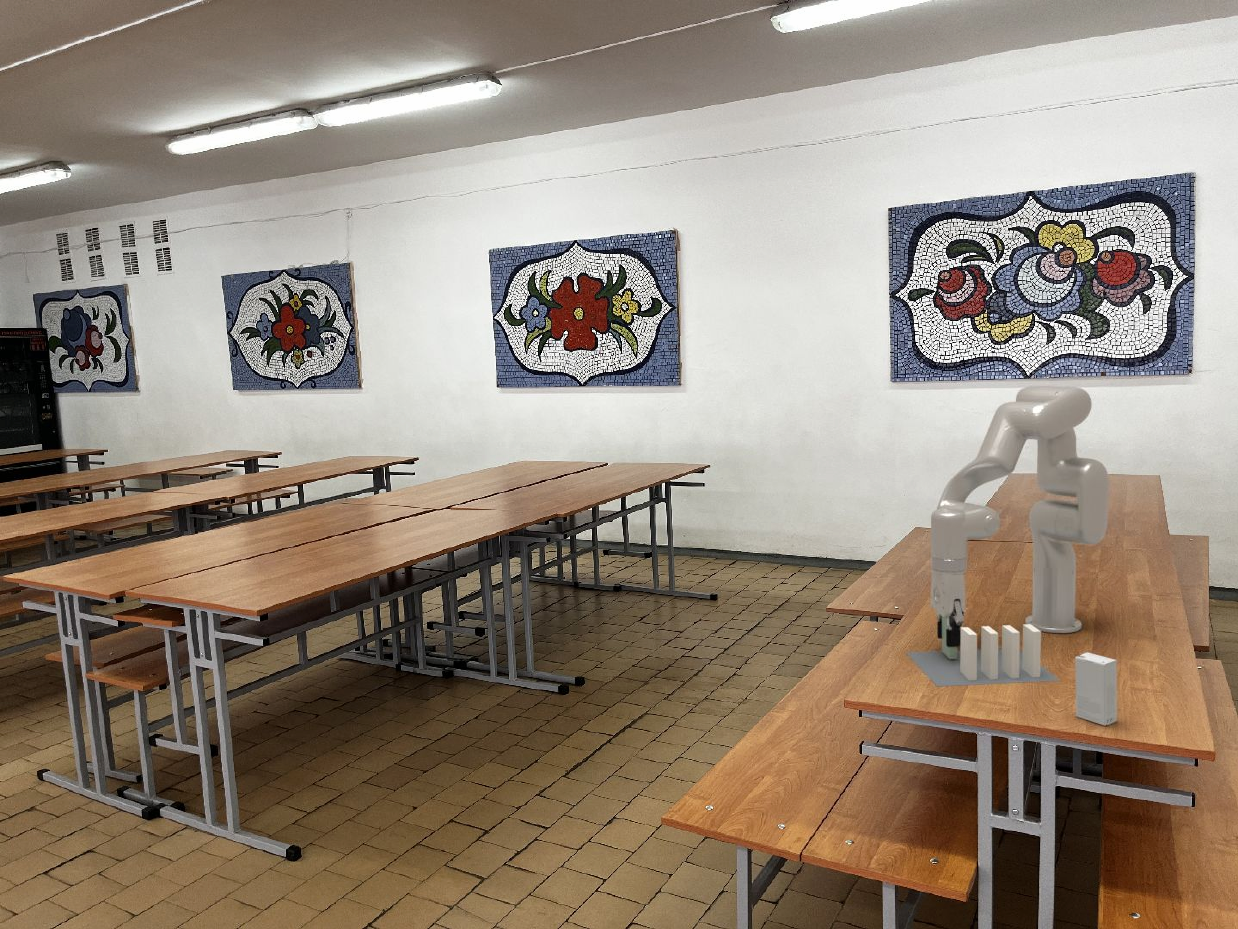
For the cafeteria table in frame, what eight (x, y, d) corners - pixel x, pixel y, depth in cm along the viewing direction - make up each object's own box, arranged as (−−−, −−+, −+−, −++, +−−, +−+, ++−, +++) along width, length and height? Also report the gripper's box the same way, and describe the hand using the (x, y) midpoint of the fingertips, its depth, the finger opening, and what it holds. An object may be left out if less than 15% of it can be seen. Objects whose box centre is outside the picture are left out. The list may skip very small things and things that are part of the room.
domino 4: (1029, 668, 203) (1030, 624, 201) (1040, 677, 198) (1041, 631, 196) (1022, 669, 203) (1023, 624, 201) (1032, 677, 198) (1033, 631, 196)
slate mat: (1017, 649, 216) (1017, 647, 216) (1060, 682, 195) (1060, 680, 195) (905, 654, 216) (905, 652, 216) (936, 688, 195) (936, 686, 195)
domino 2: (988, 670, 203) (988, 626, 201) (997, 679, 198) (998, 633, 196) (981, 671, 203) (981, 626, 201) (990, 679, 198) (990, 633, 196)
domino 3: (1009, 669, 203) (1009, 625, 201) (1019, 678, 198) (1019, 632, 196) (1001, 670, 203) (1002, 625, 201) (1011, 678, 198) (1012, 632, 196)
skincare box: (1118, 721, 176) (1119, 659, 174) (1104, 727, 173) (1105, 664, 172) (1086, 711, 181) (1088, 650, 179) (1073, 717, 179) (1074, 656, 177)
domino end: (948, 651, 215) (948, 609, 213) (956, 658, 210) (956, 615, 208) (941, 651, 215) (941, 609, 213) (949, 659, 210) (949, 616, 208)
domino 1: (967, 671, 203) (968, 627, 201) (976, 680, 198) (977, 634, 196) (960, 672, 203) (960, 627, 201) (969, 680, 198) (969, 634, 196)
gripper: (919, 555, 218) (920, 631, 220) (945, 574, 201) (945, 656, 203) (951, 554, 218) (952, 629, 220) (980, 573, 201) (980, 654, 203)
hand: (949, 641), depth 212 cm, fingers closed on domino end, 4 cm apart
